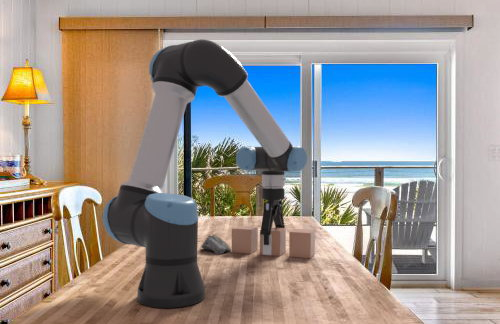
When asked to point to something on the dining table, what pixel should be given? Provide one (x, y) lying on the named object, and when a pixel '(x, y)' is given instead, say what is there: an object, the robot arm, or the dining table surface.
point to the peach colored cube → (244, 239)
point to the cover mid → (276, 241)
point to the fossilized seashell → (216, 245)
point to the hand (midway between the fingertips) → (272, 250)
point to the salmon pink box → (301, 243)
